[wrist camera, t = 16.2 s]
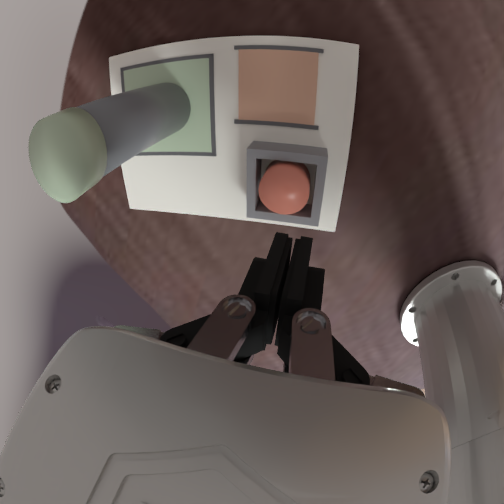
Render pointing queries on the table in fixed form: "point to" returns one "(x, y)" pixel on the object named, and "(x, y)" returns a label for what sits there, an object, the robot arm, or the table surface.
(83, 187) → the cylinder
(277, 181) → the button
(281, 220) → the picture board
